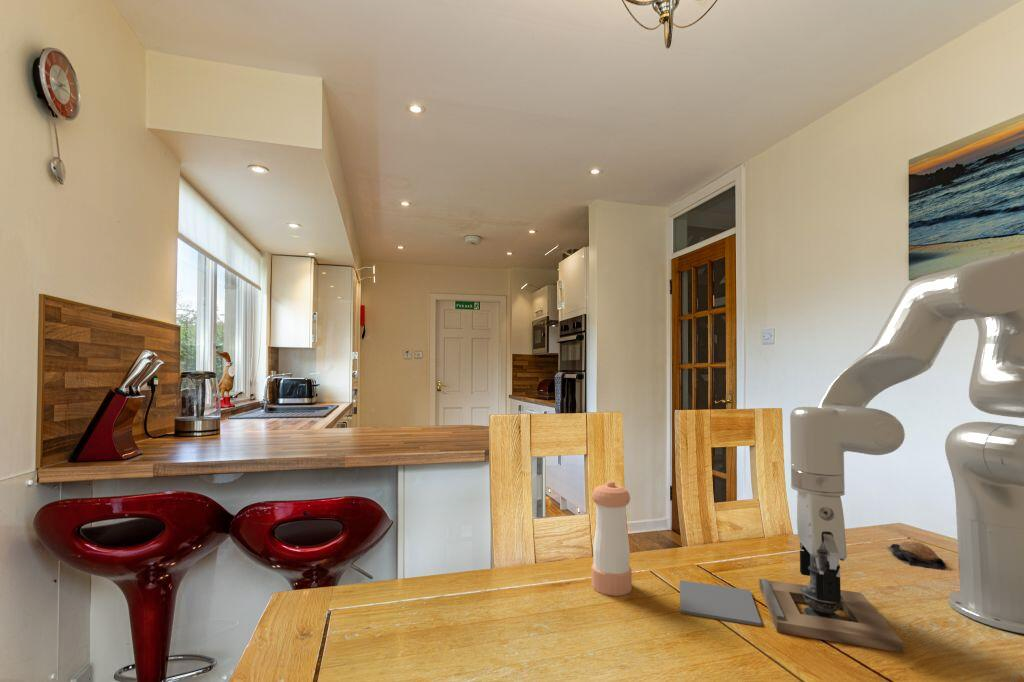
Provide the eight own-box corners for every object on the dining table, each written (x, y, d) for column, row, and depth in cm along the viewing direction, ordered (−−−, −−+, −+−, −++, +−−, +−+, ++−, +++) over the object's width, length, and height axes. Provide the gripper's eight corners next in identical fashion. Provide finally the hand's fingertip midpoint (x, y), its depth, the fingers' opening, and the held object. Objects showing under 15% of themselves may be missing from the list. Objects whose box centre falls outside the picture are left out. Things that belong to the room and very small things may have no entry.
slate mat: (749, 592, 86) (749, 589, 86) (761, 626, 74) (761, 623, 74) (679, 582, 90) (679, 580, 90) (680, 613, 78) (680, 610, 78)
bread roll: (883, 550, 109) (883, 533, 109) (929, 555, 106) (928, 538, 106) (902, 567, 99) (901, 549, 99) (954, 574, 96) (952, 555, 96)
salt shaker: (830, 608, 80) (828, 535, 81) (852, 626, 75) (849, 548, 75) (794, 606, 81) (792, 534, 82) (812, 624, 75) (810, 546, 76)
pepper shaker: (639, 591, 86) (638, 484, 87) (605, 598, 83) (604, 487, 84) (616, 575, 92) (616, 476, 94) (584, 581, 90) (584, 478, 91)
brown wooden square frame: (861, 601, 83) (861, 589, 83) (903, 652, 68) (902, 638, 68) (759, 587, 88) (759, 576, 88) (777, 632, 73) (776, 618, 73)
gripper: (863, 496, 70) (866, 617, 69) (827, 473, 86) (829, 570, 85) (804, 491, 72) (806, 607, 71) (780, 470, 88) (781, 564, 87)
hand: (819, 587), depth 78 cm, fingers open, 9 cm apart
